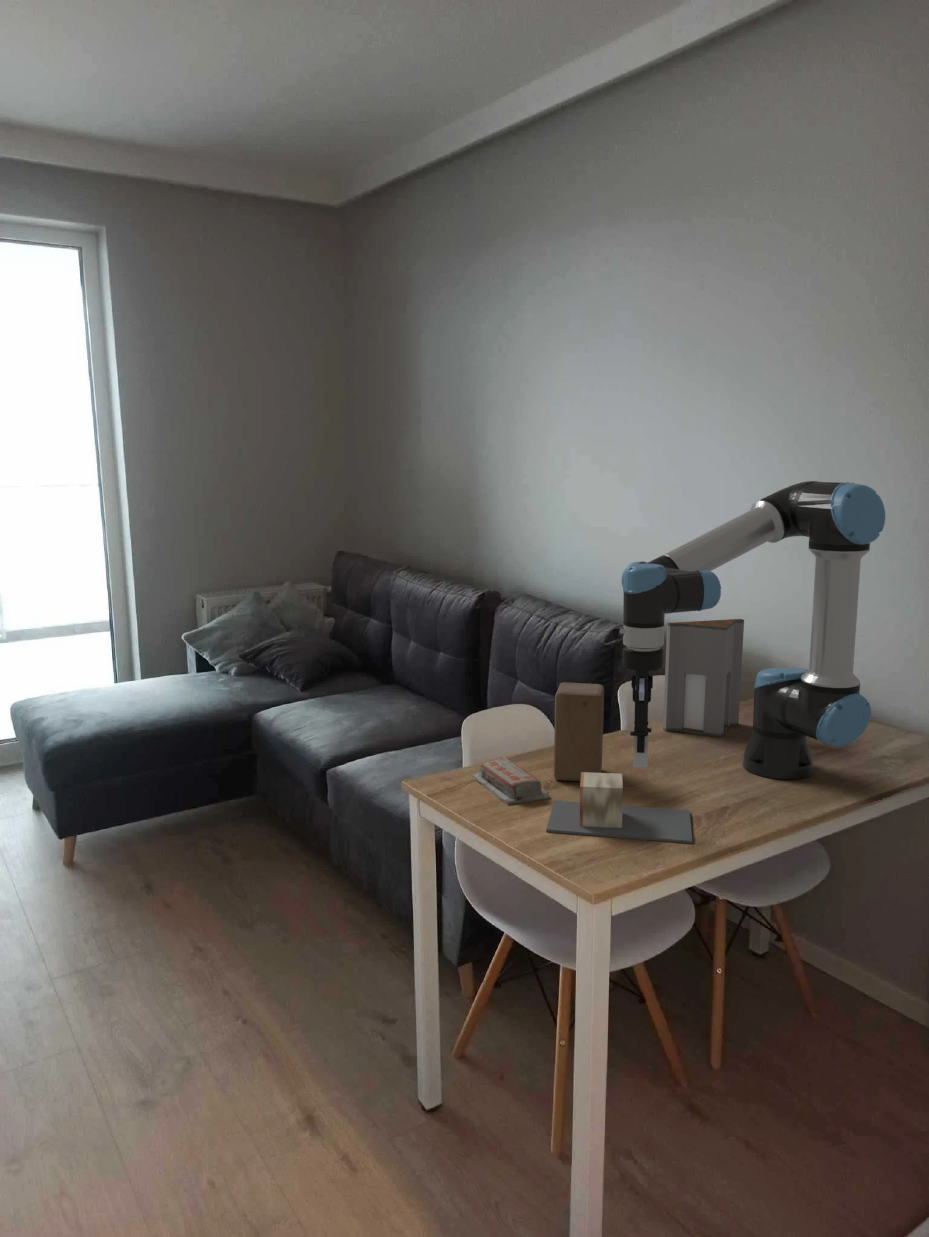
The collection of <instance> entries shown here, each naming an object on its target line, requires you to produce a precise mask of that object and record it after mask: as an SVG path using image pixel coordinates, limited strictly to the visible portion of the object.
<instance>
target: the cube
mask: <svg viewBox="0 0 929 1237" xmlns="http://www.w3.org/2000/svg"><path fill="white" fill-rule="evenodd" d="M579 784H580V785H579V802H580V826H585V827H607V828H622V805H623V798H624V796H623V795H624V794H623V793H624V791H623V789H624V786H623V784H624V783H623V773H616V772H615V773H613V772H601V773H590V772H581V781H579Z"/></svg>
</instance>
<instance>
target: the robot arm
mask: <svg viewBox="0 0 929 1237" xmlns="http://www.w3.org/2000/svg"><path fill="white" fill-rule="evenodd" d="M885 523H886V509H885V505H884V502H883V500H882V498H881V496H880V495H879V494H877V491H876V490H875V489H874V488H872V487H870V486H869V485H865V484H861V483H854V482H850V481H849V482H832V481H831V482H830V481H817V480H814V481H813V480H807V481H802V482H799V483H795V484H792V485H790V486H789V485H788V486H787V487H784V488H782V489H779V490H778V491H775V492H773V493H771V494H769V495H767V496H765V497H762V498H761V499H759V500H757V501H755V502H754V503H753V504H752V505H751V508H750V510H749V511H746V512H745V513H742V514H741V515H738V516H736V517H734V518H732V519H730V520H729V521H727V522H725V523H722V524H721V525H719V526H716V527H715V528H713V529H711V530H709V531H707V532H705V533H704V534H700V536H697V537H696V538H694V539H692V540H690V541H687V542H686V543H684V544H682V545H680V546H678V547H675V548H674V549H672V550H670V551H669V552H666V553H664V554H662V555H660V556H659V557H656V558H655V559H653V560H652V559H651V560H649V561H648V562H647V561H643V560H642V561H634V562H630V563H629V564H628V565H627V566H626V567H625V569H624V570H623V572H622V575H621V587H622V592H623V605H622V606H623V607H622V608H623V609H622V610H623V614H622V616H623V628H620V630H619V634H621V635H623V637H622V644H623V646H624V647H623V648H622V660H621V663H622V667H623V668H625V669H627V670H629V671H632V670H633V671H635V674H631V682H630V683H631V688H632V701H633V702H634V721H633V724H634V727H633V731H630V734H629V736H631V737H633V744H632V745H633V751H632V752H633V754H632V755H633V756H632V768H633V769H634V768H635V769H636V768H637V769H639V768H640V769H648V764H649V763H648V757H649V753H648V752H649V733H652V727H649V726H648V725H649V719H648V718H649V703H650V702H651V701H652V689H653V686H654V685H653V684H654V682H653V681H654V676H653V675H649V672H650V671H653V672H654V671H659V670H661V669H662V668H663V666H664V649H663V648H662V647H663V646H664V645H665V615H666V614H673V613H674V614H675V613H676V614H677V613H685V612H686V613H687V612H701V611H705V610H710V609H713V608H715V607H716V606H717V605H718V604H719V602H720V600H721V595H722V594H721V593H722V591H721V590H722V586H721V581H720V580H719V578H718V576H717V575H716V573H714V572H712V571H714V570H716V569H718V568H719V567H722V566H723V565H726V564H728V563H730V562H731V561H733V560H735V559H737V558H738V557H741V556H742V555H744V554H746V553H748V552H750V551H752V550H754V549H756V548H758V547H760V546H762V545H763V544H765V543H773V544H774V543H779V542H780V541H781V540H783V539H787V538H792V537H805V538H806V537H807V538H808V551H810V552H811V554H813V555H814V557H815V566H814V567H815V568H814V581H813V582H814V584H813V597H812V599H813V600H812V615H811V616H812V617H811V631H810V632H811V633H810V646H809V647H810V650H809V664H808V669H806V668H800V667H772V668H765V669H762V670H760V671H759V672H758V673H757V674H756V678H755V683H754V684H755V685H754V687H753V688H754V690H753V693H754V694H753V715H752V717H753V718H752V733H751V736H750V737H749V741H748V742H747V745H746V747H745V750H744V753H743V755H742V767H743V768H744V769H745V770H746V771H748V772H750V773H752V774H753V775H754V774H755V775H757V776H761V777H765V778H771V779H778V780H797V779H798V780H799V779H804V778H808V777H810V776H811V775H813V772H814V771H813V770H814V761H813V757H812V753H811V749H810V746H809V742H808V737H809V738H811V739H814V740H816V741H819V742H820V743H821V744H825V745H828V744H829V745H831V746H834V747H839V748H840V747H846V746H850V745H851V744H853V743H855V742H856V741H858V740H859V738H860V737H861V736H862V735H863V734H864V733H865V732H866V730H867V728H868V727H869V723H870V721H871V716H872V708H871V704H870V703H869V701H868V699H867V698H865V697H864V696H863V695H862V694H860V692H861V680H860V679H859V678H858V676H856V675H855V673H854V662H855V649H856V648H855V646H856V635H857V634H856V632H857V620H858V619H857V618H858V604H859V592H860V591H859V589H860V574H861V562H862V558H863V557H864V556H865V555H866V554H868V553H869V552H870V550H871V543H873V542H874V541H876V540H877V539H878V538H879V536H880V535H881V534H880V533H881V532H883V530H884V526H885Z"/></svg>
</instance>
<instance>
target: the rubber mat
mask: <svg viewBox="0 0 929 1237" xmlns="http://www.w3.org/2000/svg"><path fill="white" fill-rule="evenodd" d="M545 832H546V833H554V834H555V833H557V834H569V835H578V836H579V835H581V836H595V837H604V838H605V837H607V838H617V839H618V838H619V839H628V840H629V839H632V840H644V841H646V840H647V841H655V842H657V841H658V842H669V843H670V842H671V843H680V844H681V843H682V844H693V834H692V832H693V831H692V821H691V813H690V810H689V809H678V808H677V809H676V808H662V807H651V806H650V807H649V806H637V805H625V804H622V828H607V827H585V826H580V801H568V800H553V805H552V808H551V812H550V815H549V819H548V822H547V826H546V831H545Z"/></svg>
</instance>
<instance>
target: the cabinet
mask: <svg viewBox="0 0 929 1237" xmlns="http://www.w3.org/2000/svg"><path fill="white" fill-rule="evenodd" d="M744 627H745V620H744V619H743V618H733V619H732V618H730V619H713V620H712V619H710V620H697V621H696V620H695V621H694V620H692V621H677V622H667V623H666V642H665V643H666V646H665V647H666V648H665V649H666V650H665V668H664V670H665V671H664V676H665V677H664V698H663V719H662V721H663V722H662V730H663V731H664V732H681V733H688V734H696V735H702V736H710V737H715V738H716V737H717V738H722V736H723V735H725V732H726V731H727V730H728V728H729V727H732V726H739V720H740V700H741V686H742V685H741V682H742V667H743V666H742V665H743V649H744V648H743V647H744V646H743V645H744Z"/></svg>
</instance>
